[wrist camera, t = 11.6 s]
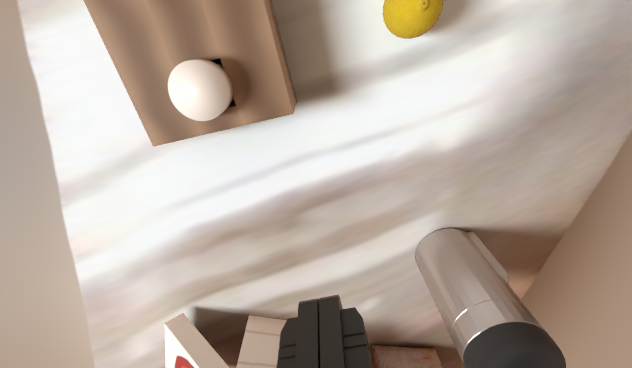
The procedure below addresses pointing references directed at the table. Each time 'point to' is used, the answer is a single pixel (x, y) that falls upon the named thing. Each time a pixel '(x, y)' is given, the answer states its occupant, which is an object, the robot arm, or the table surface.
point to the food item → (404, 357)
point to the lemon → (411, 16)
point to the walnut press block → (196, 43)
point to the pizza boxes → (203, 361)
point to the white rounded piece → (200, 89)
